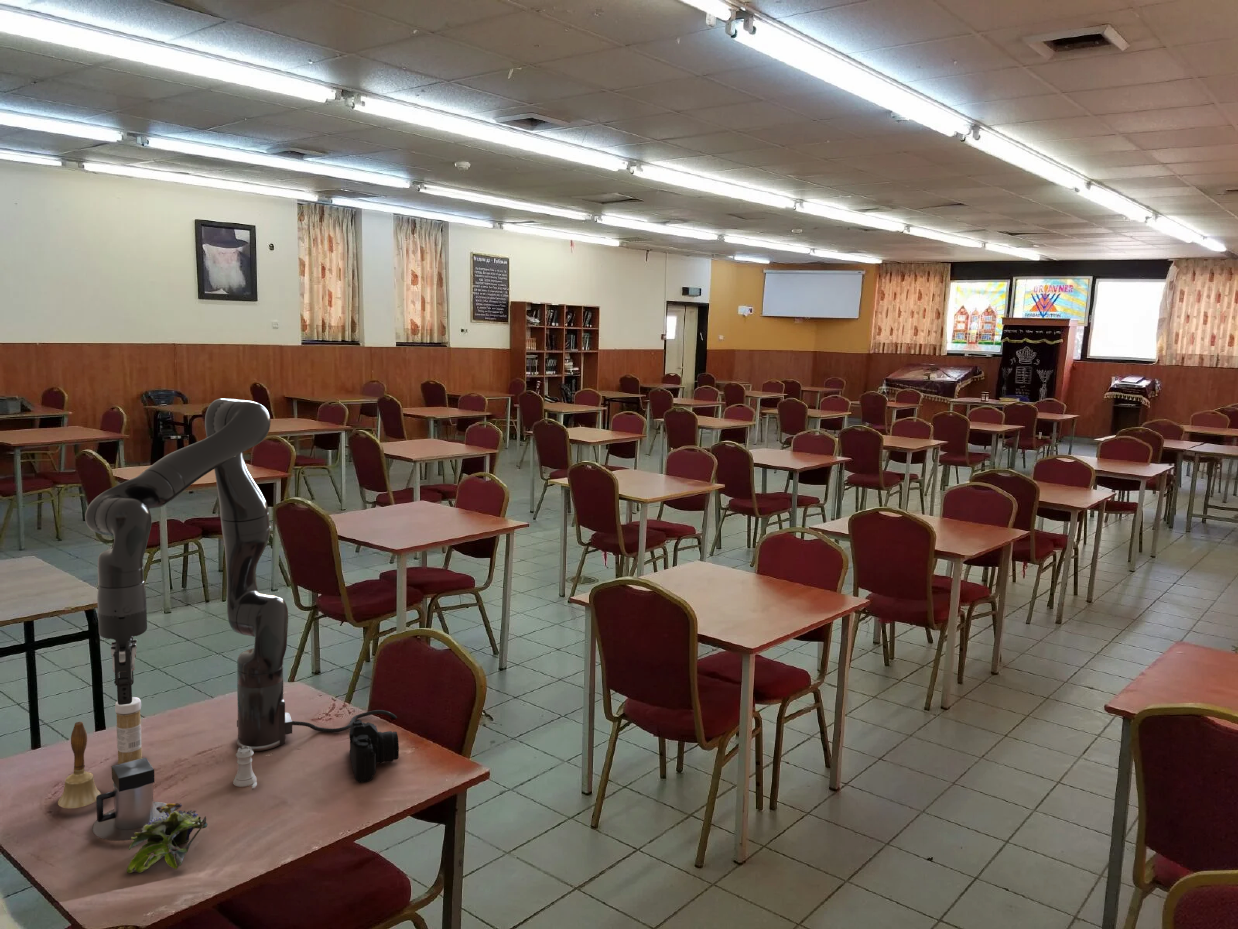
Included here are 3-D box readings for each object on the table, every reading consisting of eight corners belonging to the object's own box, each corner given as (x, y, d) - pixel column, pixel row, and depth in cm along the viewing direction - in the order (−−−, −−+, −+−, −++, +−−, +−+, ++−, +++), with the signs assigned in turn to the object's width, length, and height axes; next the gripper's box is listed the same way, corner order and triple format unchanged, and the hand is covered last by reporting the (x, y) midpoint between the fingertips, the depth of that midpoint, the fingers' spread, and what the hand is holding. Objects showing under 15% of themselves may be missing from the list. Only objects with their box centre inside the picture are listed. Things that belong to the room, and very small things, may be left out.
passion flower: (170, 879, 152) (207, 809, 157) (191, 898, 145) (229, 824, 149) (107, 861, 146) (148, 789, 151) (125, 881, 138) (167, 804, 143)
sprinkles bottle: (139, 756, 184) (138, 694, 182) (144, 764, 180) (143, 702, 178) (115, 761, 181) (113, 699, 179) (119, 770, 177) (117, 707, 175)
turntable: (173, 801, 167) (173, 795, 167) (176, 837, 156) (176, 830, 156) (94, 816, 161) (93, 810, 161) (90, 854, 150) (90, 847, 149)
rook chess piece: (262, 784, 175) (262, 746, 174) (245, 795, 171) (245, 756, 169) (244, 780, 176) (243, 742, 175) (227, 790, 172) (226, 751, 171)
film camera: (402, 778, 180) (403, 736, 179) (353, 785, 176) (353, 742, 175) (392, 745, 194) (393, 706, 193) (346, 751, 190) (346, 711, 189)
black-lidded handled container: (148, 807, 162) (147, 756, 161) (157, 822, 158) (156, 769, 156) (93, 823, 157) (91, 770, 155) (101, 838, 152) (99, 784, 151)
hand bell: (90, 788, 170) (87, 710, 168) (114, 801, 166) (112, 721, 164) (44, 806, 163) (40, 725, 161) (68, 821, 159) (65, 737, 157)
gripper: (100, 597, 160) (104, 682, 163) (94, 622, 148) (99, 713, 150) (147, 593, 164) (150, 676, 166) (145, 617, 151) (149, 707, 154)
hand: (125, 694), depth 158 cm, fingers open, 8 cm apart
